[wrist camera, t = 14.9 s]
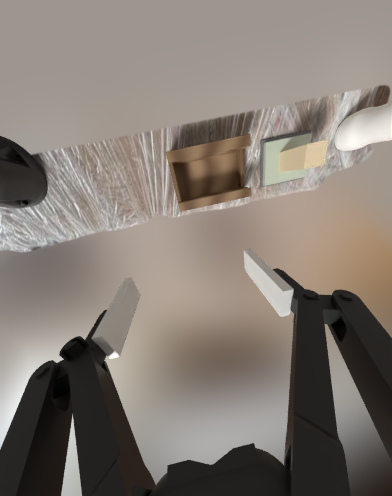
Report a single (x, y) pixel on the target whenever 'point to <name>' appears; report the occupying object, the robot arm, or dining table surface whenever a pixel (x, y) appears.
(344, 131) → the bottle
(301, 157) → the lid
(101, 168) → the dining table surface
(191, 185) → the walnut box
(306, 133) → the mat
